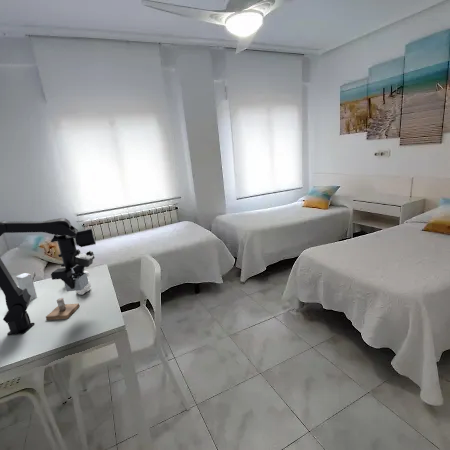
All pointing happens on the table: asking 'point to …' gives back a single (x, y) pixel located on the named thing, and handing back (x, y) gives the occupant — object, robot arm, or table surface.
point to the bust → (85, 286)
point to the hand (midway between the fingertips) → (77, 284)
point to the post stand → (62, 310)
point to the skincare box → (27, 284)
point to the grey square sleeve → (78, 282)
